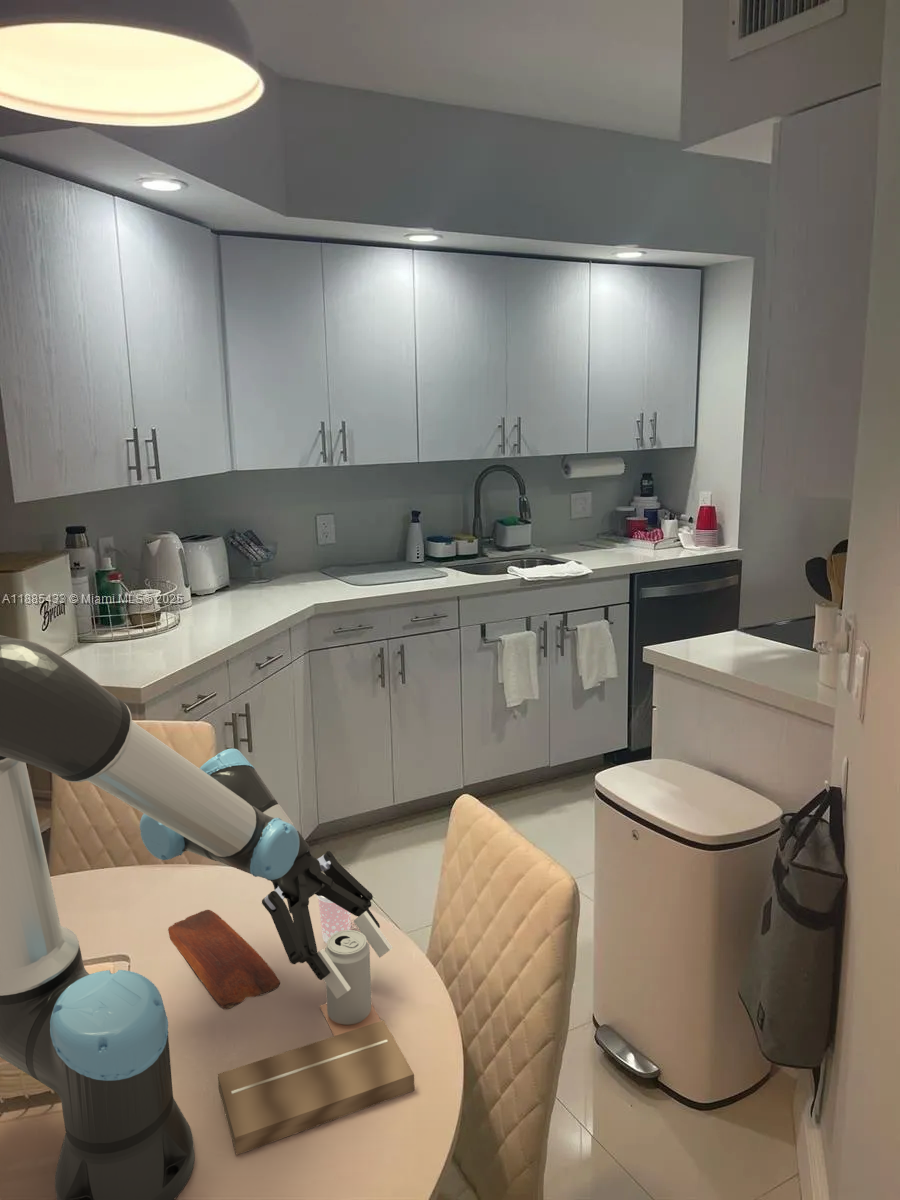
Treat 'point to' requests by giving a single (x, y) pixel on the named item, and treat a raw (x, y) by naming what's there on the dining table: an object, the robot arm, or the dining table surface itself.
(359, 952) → the beverage can
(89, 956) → the dining table surface
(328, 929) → the beverage cup
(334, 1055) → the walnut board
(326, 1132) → the dining table surface
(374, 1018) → the end tile
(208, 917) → the wooden tablet
